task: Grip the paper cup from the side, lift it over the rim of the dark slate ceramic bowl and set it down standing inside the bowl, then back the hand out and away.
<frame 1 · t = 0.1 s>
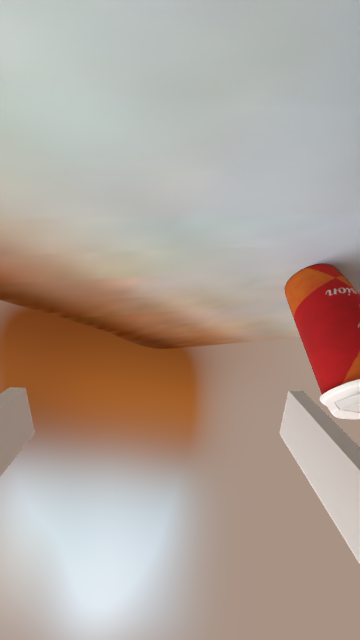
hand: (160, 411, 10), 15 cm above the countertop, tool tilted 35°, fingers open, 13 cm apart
paper cup: (308, 281, 24), on the countertop
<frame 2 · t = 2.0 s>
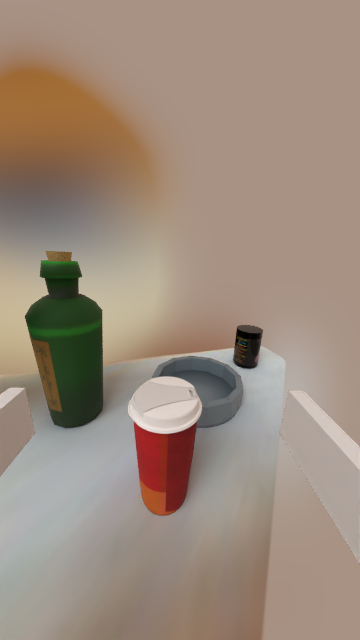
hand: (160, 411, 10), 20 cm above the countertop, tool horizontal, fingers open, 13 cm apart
supplement container: (244, 363, 58), on the countertop
bowl: (196, 394, 44), on the countertop
paper cup: (163, 490, 25), on the countertop
bottle: (78, 412, 37), on the countertop
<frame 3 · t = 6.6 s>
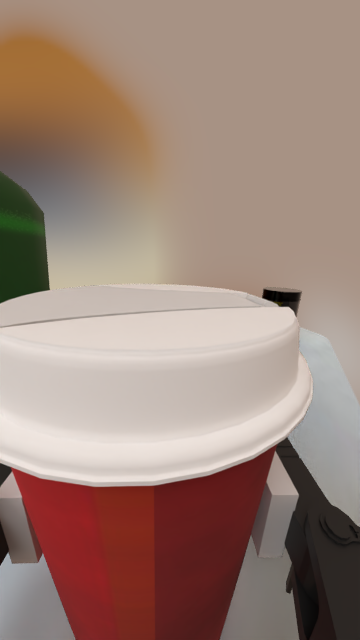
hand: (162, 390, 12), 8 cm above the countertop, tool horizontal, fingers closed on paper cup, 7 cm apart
supplement container: (273, 340, 42), on the countertop
paper cup: (154, 601, 9), on the countertop, touching gripper
bottle: (10, 404, 21), on the countertop
when the fingers open (10 cm above the countertop, at t = 11.6 s): paper cup moves 4 cm, resting on bowl.
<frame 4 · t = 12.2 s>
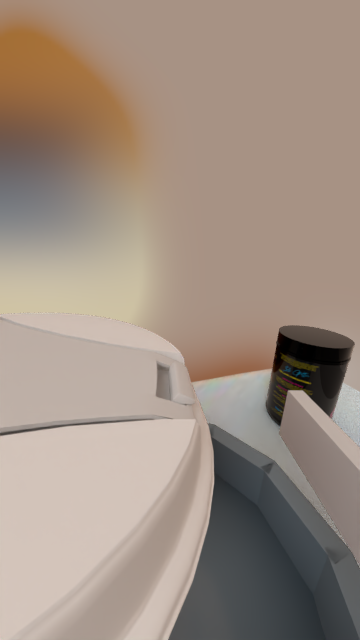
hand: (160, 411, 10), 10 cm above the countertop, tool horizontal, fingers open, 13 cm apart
supplement container: (294, 417, 24), on the countertop
bowl: (154, 628, 10), on the countertop
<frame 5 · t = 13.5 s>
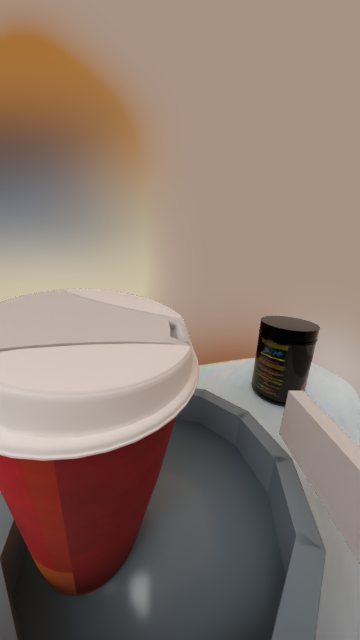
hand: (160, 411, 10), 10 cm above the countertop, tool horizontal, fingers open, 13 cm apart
supplement container: (275, 393, 29), on the countertop
bowl: (158, 510, 15), on the countertop
paper cup: (92, 524, 13), point 2 cm above the countertop, touching bowl, gripper
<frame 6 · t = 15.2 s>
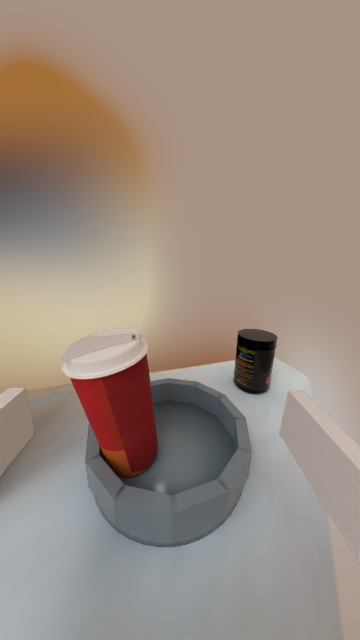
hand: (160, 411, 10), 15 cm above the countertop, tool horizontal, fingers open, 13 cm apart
supplement container: (250, 385, 40), on the countertop
bowl: (169, 450, 25), on the countertop
paper cup: (133, 453, 23), point 1 cm above the countertop, touching bowl
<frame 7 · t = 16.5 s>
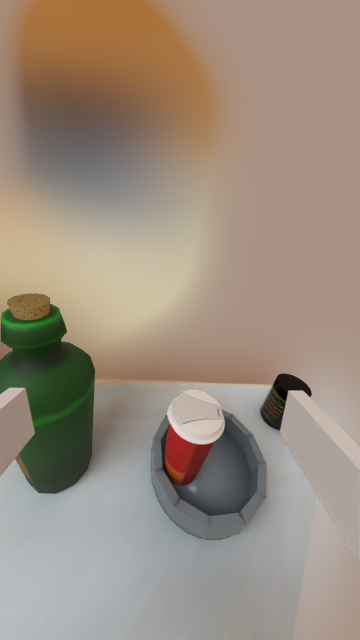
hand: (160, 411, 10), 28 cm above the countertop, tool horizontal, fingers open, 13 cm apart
supplement container: (273, 418, 46), on the countertop
bowl: (203, 465, 35), on the countertop
paper cup: (180, 466, 33), point 1 cm above the countertop, touching bowl
bottle: (62, 463, 32), on the countertop
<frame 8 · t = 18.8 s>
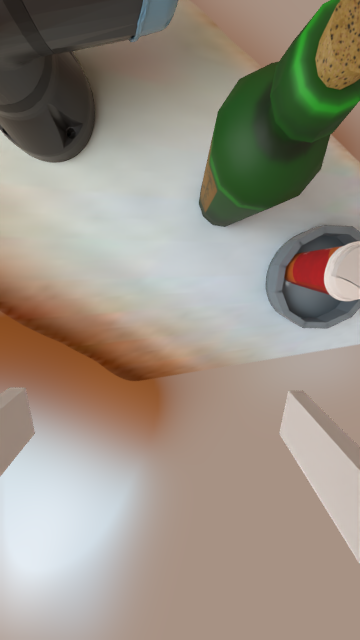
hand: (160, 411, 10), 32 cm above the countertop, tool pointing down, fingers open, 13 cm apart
bowl: (310, 278, 41), on the countertop
paper cup: (295, 268, 39), point 1 cm above the countertop, touching bowl
bottle: (222, 201, 36), on the countertop
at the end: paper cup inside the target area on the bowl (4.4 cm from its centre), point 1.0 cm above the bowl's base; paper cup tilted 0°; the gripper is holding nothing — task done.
